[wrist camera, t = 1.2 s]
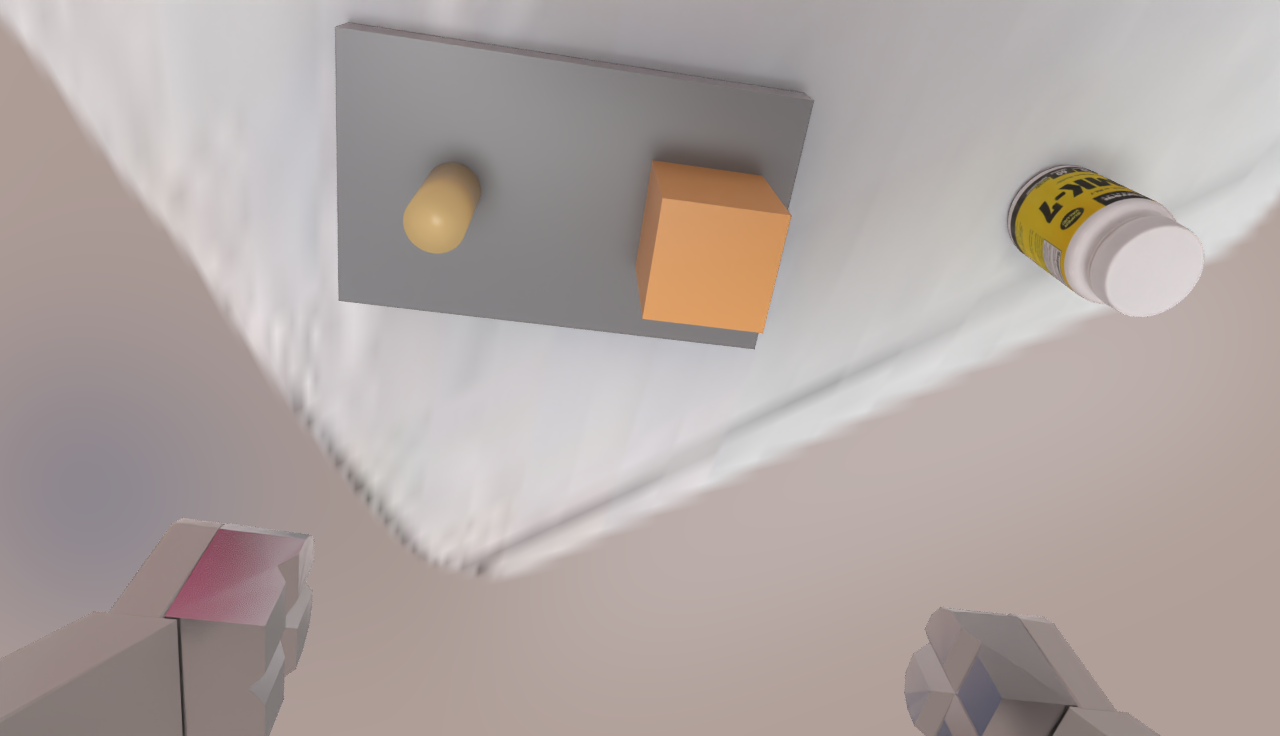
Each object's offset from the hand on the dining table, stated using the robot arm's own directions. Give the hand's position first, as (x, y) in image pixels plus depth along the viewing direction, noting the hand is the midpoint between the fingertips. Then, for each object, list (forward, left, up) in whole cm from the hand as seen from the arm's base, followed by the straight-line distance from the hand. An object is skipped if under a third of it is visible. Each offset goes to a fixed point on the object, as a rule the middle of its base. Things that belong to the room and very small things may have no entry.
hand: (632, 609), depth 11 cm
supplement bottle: (-22, +1, -31) cm, 38 cm away
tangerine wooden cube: (-5, +3, -28) cm, 29 cm away
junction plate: (+1, +3, -30) cm, 31 cm away
